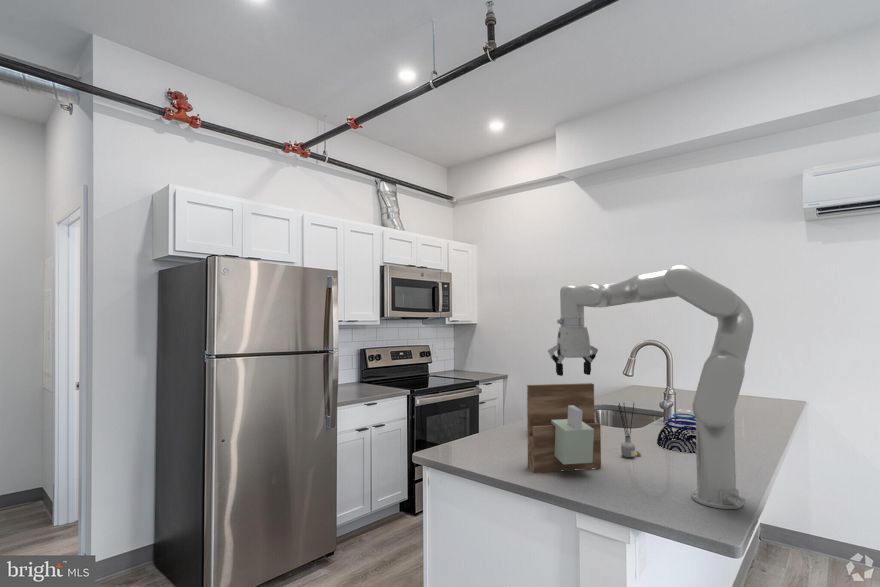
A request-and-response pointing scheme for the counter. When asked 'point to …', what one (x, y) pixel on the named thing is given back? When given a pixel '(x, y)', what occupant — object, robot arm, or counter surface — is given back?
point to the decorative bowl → (688, 438)
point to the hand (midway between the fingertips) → (573, 374)
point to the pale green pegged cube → (573, 438)
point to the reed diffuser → (628, 440)
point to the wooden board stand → (554, 406)
